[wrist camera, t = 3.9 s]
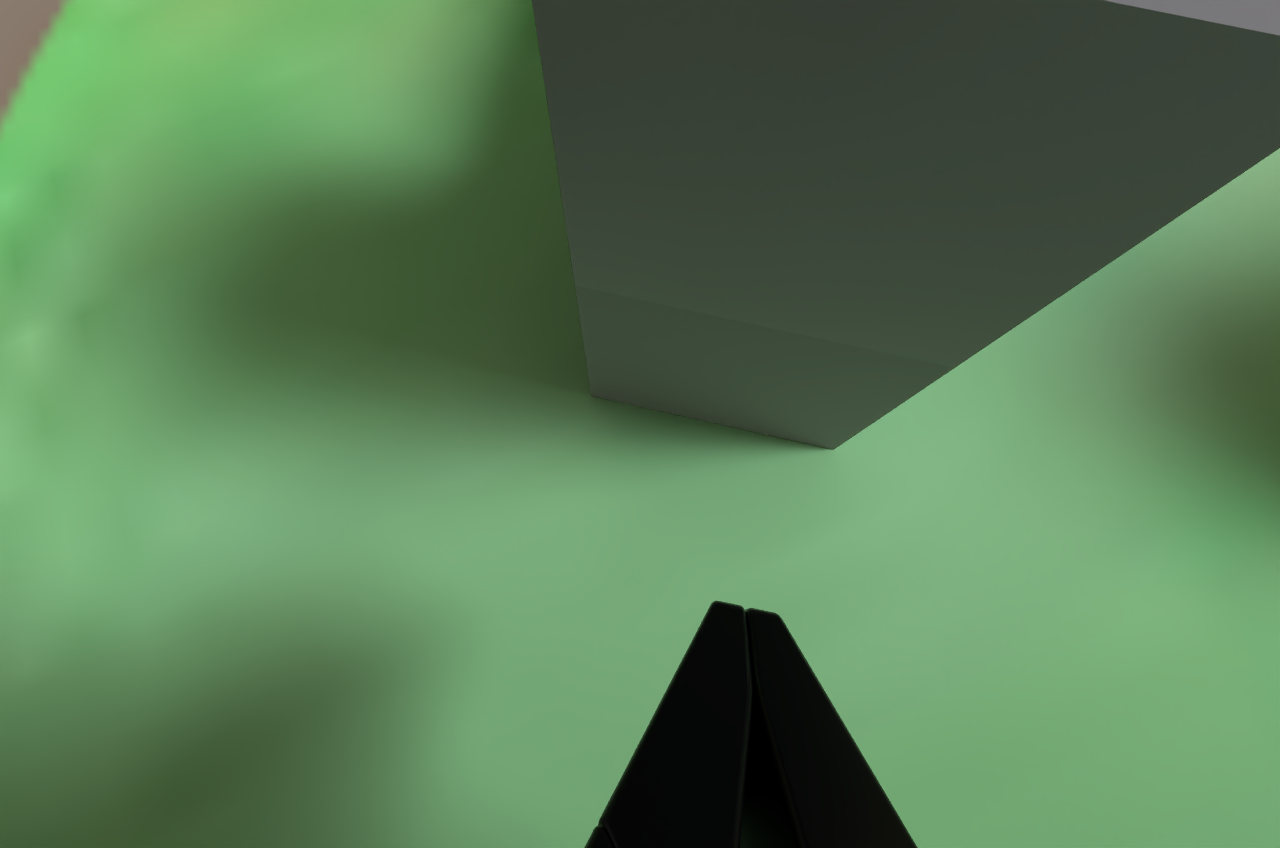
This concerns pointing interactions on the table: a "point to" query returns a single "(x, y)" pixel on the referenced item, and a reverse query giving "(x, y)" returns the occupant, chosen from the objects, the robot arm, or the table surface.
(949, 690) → the table surface
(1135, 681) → the table surface
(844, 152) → the grey block
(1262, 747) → the table surface
